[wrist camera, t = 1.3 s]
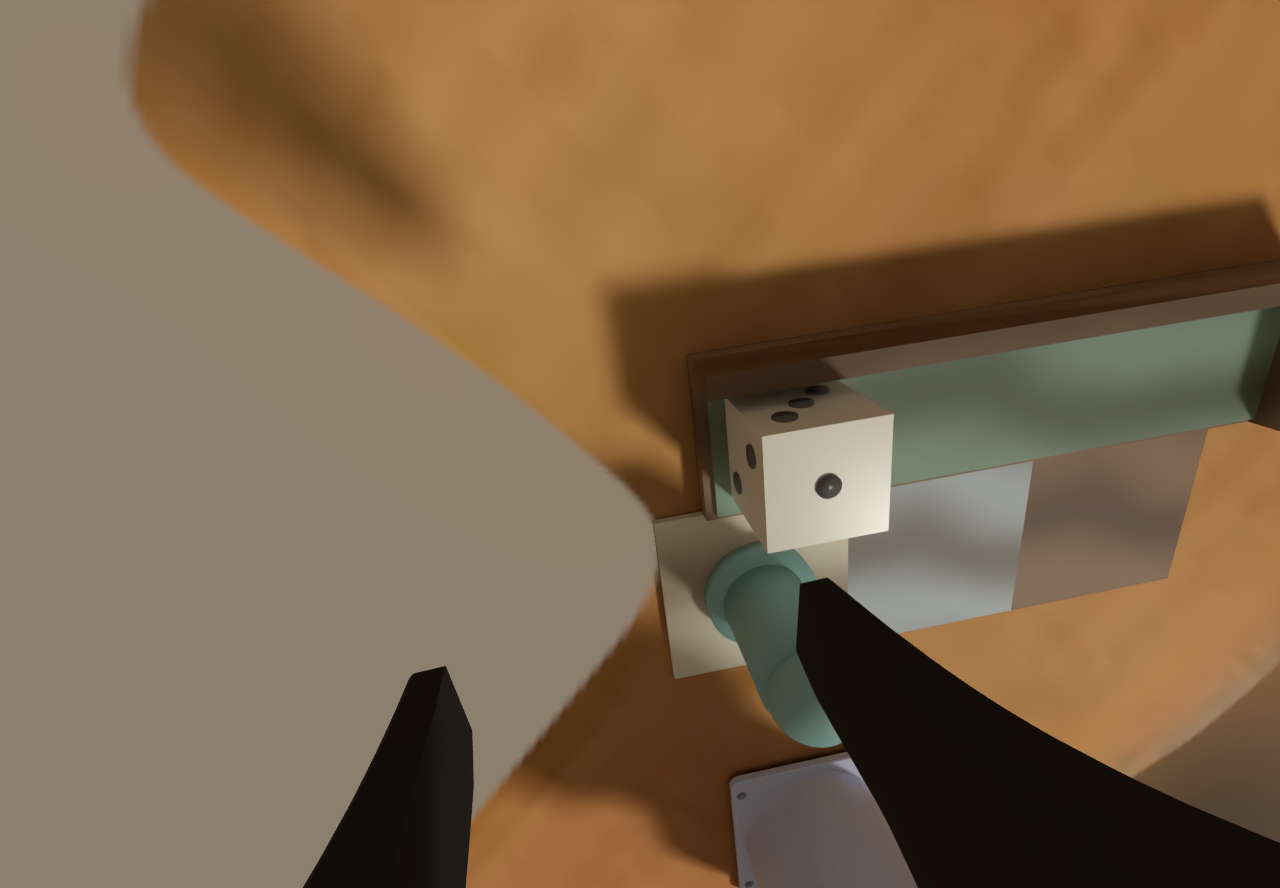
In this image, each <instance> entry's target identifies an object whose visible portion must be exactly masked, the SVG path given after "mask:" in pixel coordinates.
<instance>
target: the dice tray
mask: <svg viewBox="0 0 1280 888" xmlns="http://www.w3.org/2000/svg"><path fill="white" fill-rule="evenodd" d="M687 364H688V374H689V384H690V395H691V405H692V415H693V426H694V436H695V446H696V457H697V467H698V477H699V487H700V498H701V508H702V513H703V515H704V517H705V519H706V521H710V520H716V519H721V518H727V517H732V516H737V515H743V513H742V512H741V510H740V509H739V507H738V505H737V504H736V502H735V501H734V499H733V497H732V494H731V480H730V466H729V453H728V439H727V426H726V412H725V399H728V398H734V397H740V396H746V395H752V394H758V393H764V392H770V391H776V390H782V389H788V388H794V387H800V386H806V385H812V384H818V383H823V382H829V381H835V380H838V381H840V382H842V383H843V384H845V385H847V386H848V387H850V388H852V389H853V390H855V391H857V392H858V393H860V394H862V395H863V396H865V397H867V398H868V399H870V400H872V401H873V402H875V403H877V404H878V405H880V406H882V407H883V408H885V409H887V410H888V411H890V412H892V413H893V414H894V421H893V443H892V465H891V486H890V487H895V486H900V485H906V484H911V483H917V482H922V481H927V480H933V479H938V478H944V477H949V476H955V475H960V474H965V473H971V472H976V471H982V470H987V469H993V468H998V467H1003V466H1009V465H1014V464H1020V463H1025V462H1031V461H1036V460H1041V459H1047V458H1052V457H1058V456H1063V455H1069V454H1074V453H1079V452H1085V451H1090V450H1096V449H1101V448H1107V447H1112V446H1117V445H1123V444H1128V443H1134V442H1139V441H1145V440H1150V439H1155V438H1161V437H1166V436H1172V435H1177V434H1183V433H1188V432H1193V431H1199V430H1204V429H1210V428H1215V427H1221V426H1226V425H1231V424H1237V423H1242V422H1252V423H1255V424H1258V425H1261V426H1265V427H1268V428H1271V429H1275V430H1278V431H1280V260H1275V261H1269V262H1262V263H1256V264H1250V265H1244V266H1237V267H1231V268H1225V269H1219V270H1212V271H1206V272H1200V273H1194V274H1187V275H1181V276H1175V277H1169V278H1162V279H1156V280H1150V281H1144V282H1138V283H1131V284H1125V285H1119V286H1113V287H1106V288H1100V289H1094V290H1088V291H1081V292H1075V293H1069V294H1063V295H1056V296H1050V297H1044V298H1038V299H1031V300H1025V301H1019V302H1013V303H1007V304H1000V305H994V306H988V307H982V308H975V309H969V310H963V311H957V312H950V313H944V314H938V315H932V316H925V317H919V318H913V319H907V320H900V321H894V322H888V323H882V324H876V325H869V326H863V327H857V328H851V329H844V330H838V331H832V332H826V333H819V334H813V335H807V336H801V337H794V338H788V339H782V340H776V341H769V342H763V343H757V344H751V345H745V346H738V347H732V348H726V349H720V350H713V351H707V352H701V353H695V354H688V355H687Z"/></svg>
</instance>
